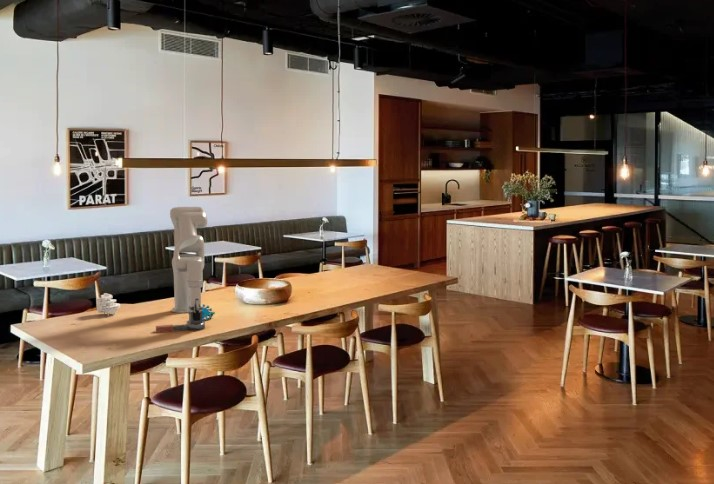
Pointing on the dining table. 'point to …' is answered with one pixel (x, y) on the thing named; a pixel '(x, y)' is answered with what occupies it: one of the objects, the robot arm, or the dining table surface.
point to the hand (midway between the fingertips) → (195, 318)
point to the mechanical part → (107, 304)
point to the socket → (191, 317)
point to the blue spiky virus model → (206, 312)
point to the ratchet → (180, 327)
